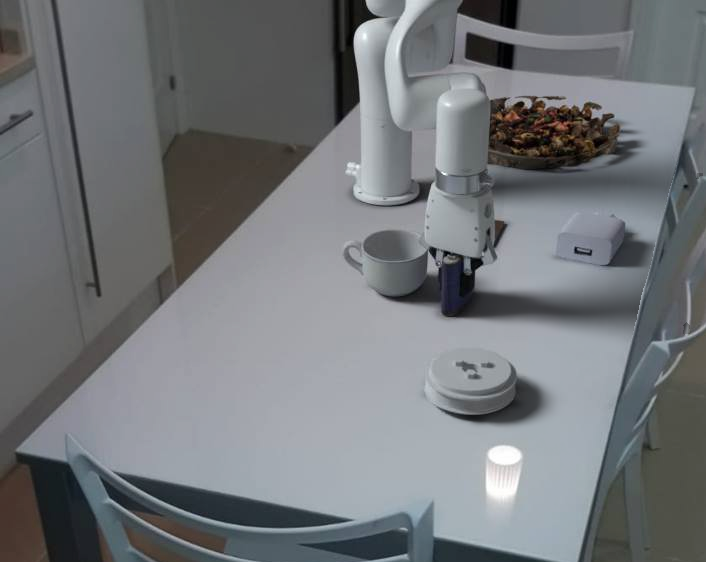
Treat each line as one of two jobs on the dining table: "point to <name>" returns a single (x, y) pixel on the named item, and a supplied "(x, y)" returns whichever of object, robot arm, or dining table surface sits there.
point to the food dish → (546, 134)
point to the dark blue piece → (452, 285)
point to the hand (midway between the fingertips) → (455, 289)
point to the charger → (591, 237)
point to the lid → (470, 381)
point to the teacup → (390, 261)
